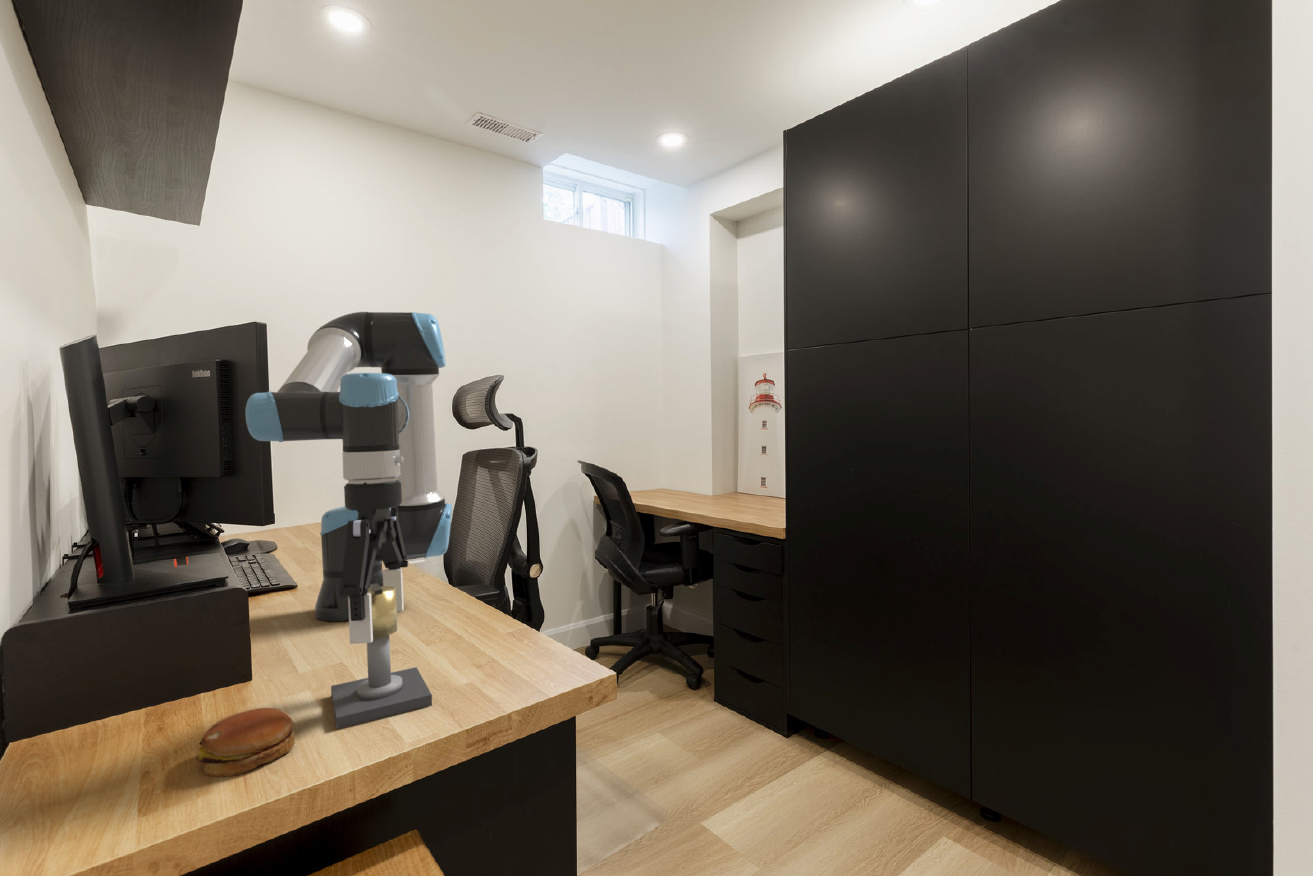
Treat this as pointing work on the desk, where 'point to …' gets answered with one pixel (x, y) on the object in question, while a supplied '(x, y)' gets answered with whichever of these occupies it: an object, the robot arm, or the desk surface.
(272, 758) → the burger
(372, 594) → the cap
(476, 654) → the desk surface
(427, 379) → the robot arm
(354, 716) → the post block
